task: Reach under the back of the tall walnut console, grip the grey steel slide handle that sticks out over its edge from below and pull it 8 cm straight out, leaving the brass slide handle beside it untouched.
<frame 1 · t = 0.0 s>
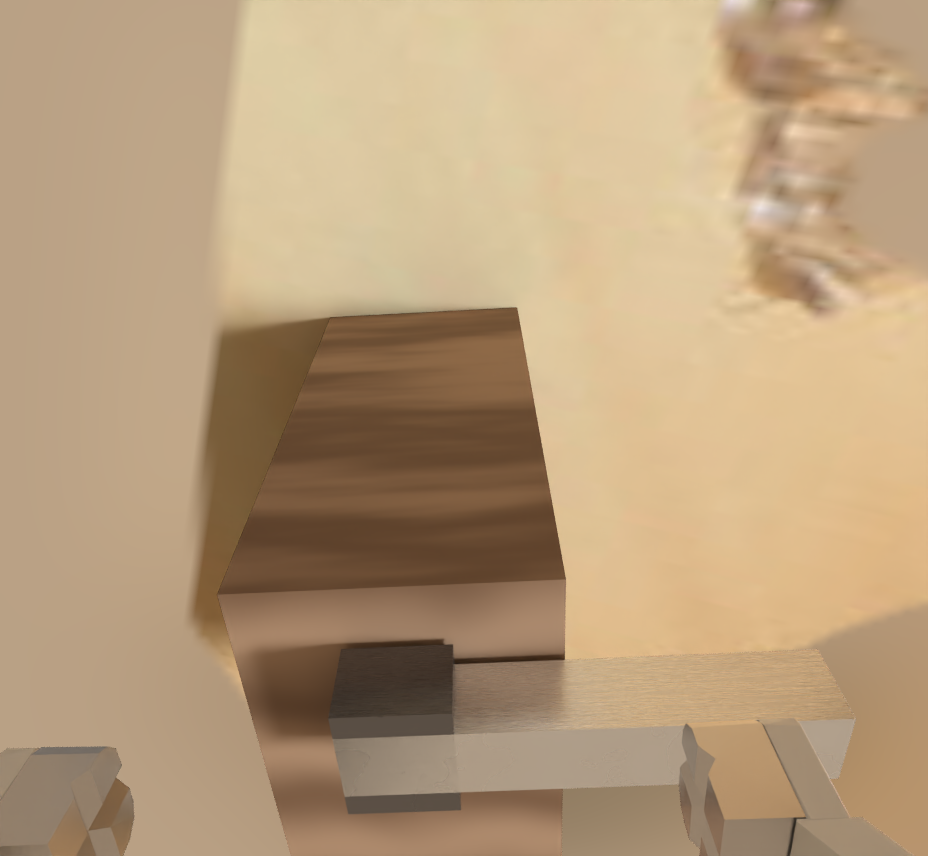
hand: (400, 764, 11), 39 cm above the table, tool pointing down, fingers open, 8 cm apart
steel handle: (584, 722, 27), point 28 cm above the table, slide at 0.0 cm
console: (437, 481, 55), on the table
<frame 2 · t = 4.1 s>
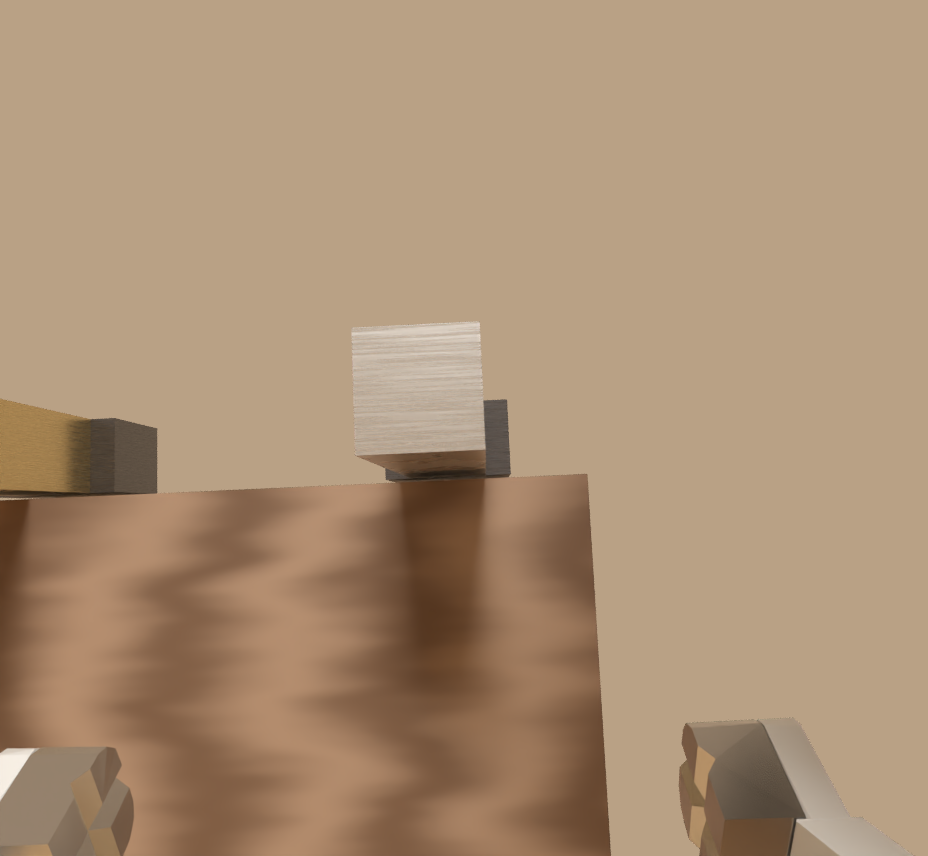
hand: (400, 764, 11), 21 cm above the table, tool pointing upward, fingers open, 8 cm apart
steel handle: (439, 427, 26), point 28 cm above the table, slide at 0.0 cm
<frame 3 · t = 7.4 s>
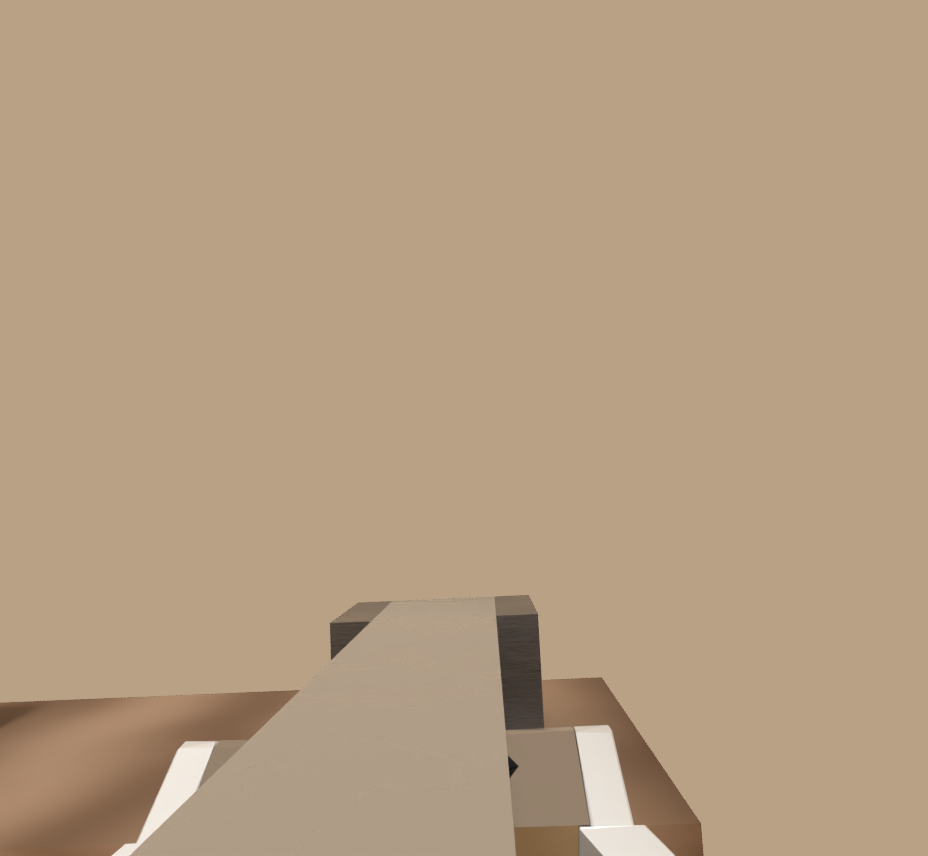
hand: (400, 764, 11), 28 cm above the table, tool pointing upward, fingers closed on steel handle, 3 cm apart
steel handle: (419, 740, 14), point 28 cm above the table, slide at 0.0 cm, touching gripper
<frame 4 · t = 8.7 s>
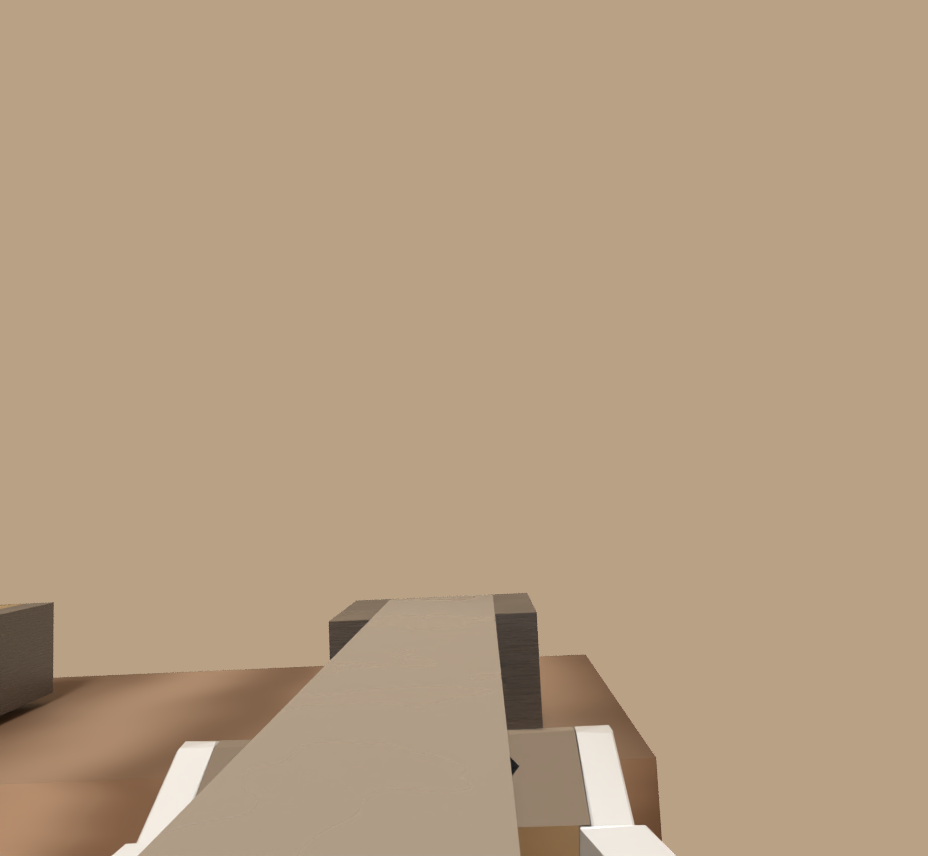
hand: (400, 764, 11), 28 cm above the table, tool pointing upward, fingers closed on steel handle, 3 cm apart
steel handle: (419, 739, 14), point 28 cm above the table, slide at 3.5 cm, touching gripper
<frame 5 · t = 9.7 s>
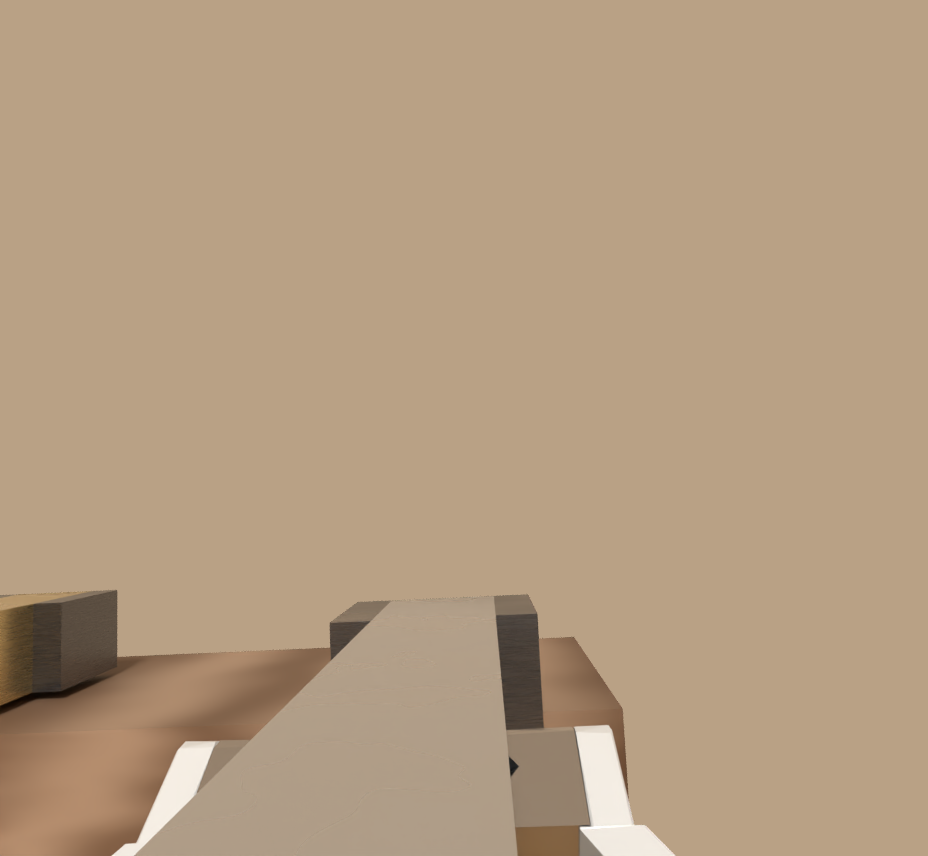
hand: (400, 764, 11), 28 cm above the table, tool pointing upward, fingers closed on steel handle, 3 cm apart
steel handle: (419, 739, 14), point 28 cm above the table, slide at 7.9 cm, touching gripper
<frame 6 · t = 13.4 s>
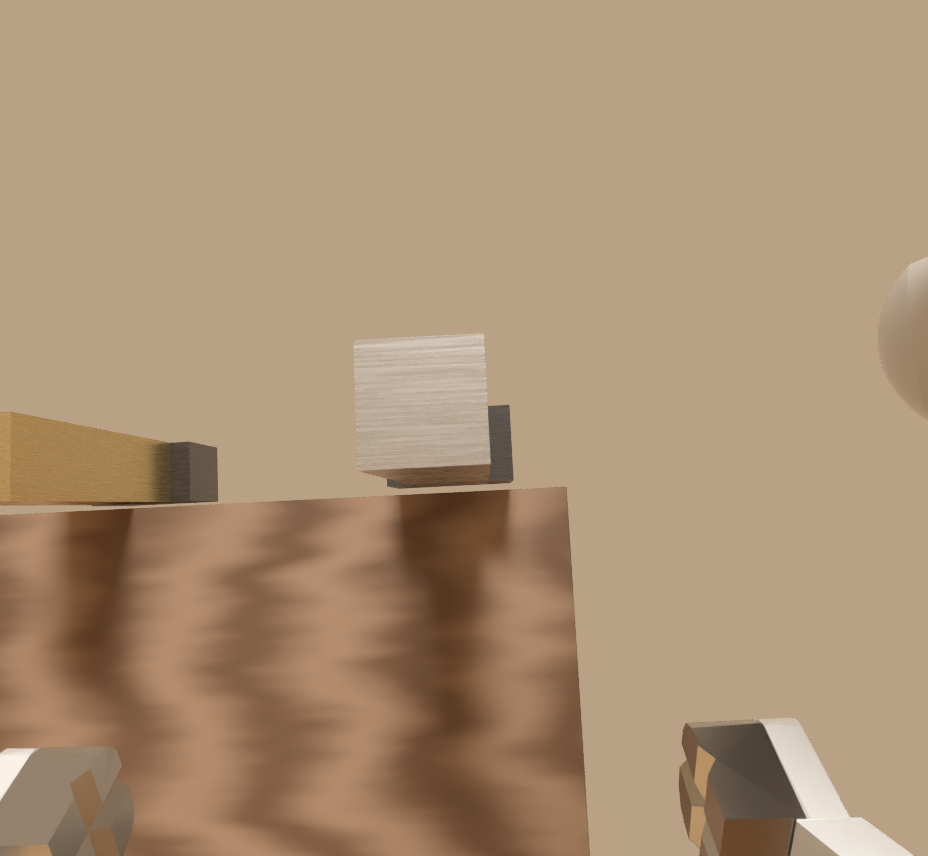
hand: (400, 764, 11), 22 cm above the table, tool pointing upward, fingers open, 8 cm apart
steel handle: (442, 435, 26), point 28 cm above the table, slide at 7.9 cm
brass handle: (95, 469, 34), point 28 cm above the table, slide at 0.0 cm
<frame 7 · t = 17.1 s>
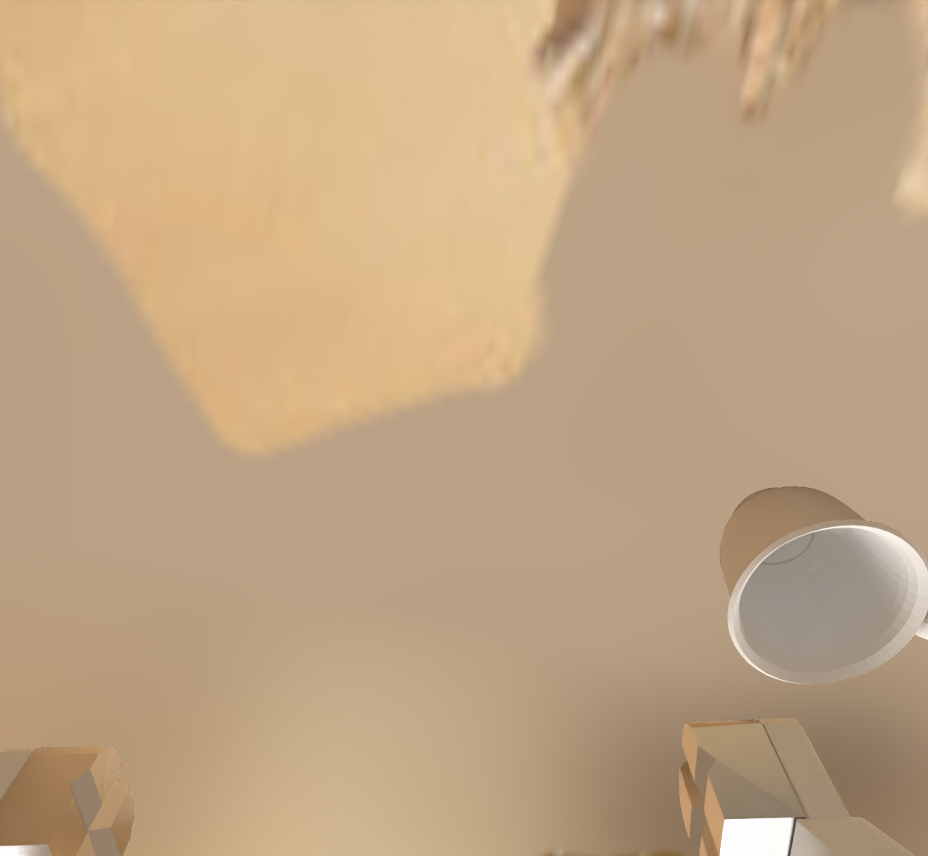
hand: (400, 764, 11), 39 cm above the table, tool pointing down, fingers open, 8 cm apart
teacup: (786, 525, 55), on the table
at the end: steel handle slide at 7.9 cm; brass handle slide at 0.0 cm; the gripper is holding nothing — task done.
